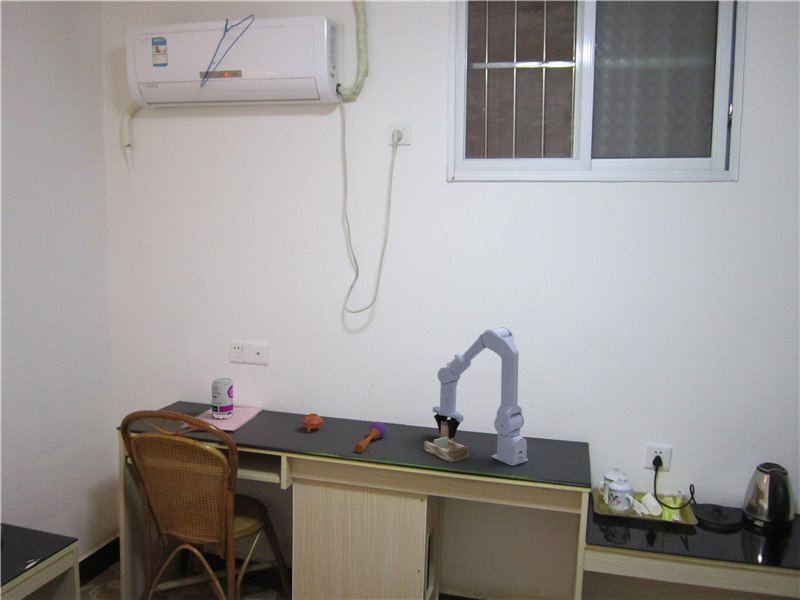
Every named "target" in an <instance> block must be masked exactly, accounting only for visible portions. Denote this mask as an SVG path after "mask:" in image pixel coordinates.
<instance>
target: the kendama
mask: <svg viewBox="0 0 800 600" xmlns="http://www.w3.org/2000/svg"><path fill="white" fill-rule="evenodd" d="M386 432H387V430H386V425H385V424H384V422H381V421H374V422H373V423H371V425H370V427H369V431H368V436H367V437H366V438H364V439H362V440H361V441H360V442H358V443H357V444H355V446H354V451H355V452H356V453H357V452H361V453H360V454H363V453H364V452H365V451H366V450H365V449H366V448H367V446H368V445H369V444H370V441H372V440H377V439H382V438H383V437H384V436H385V434H386Z"/></svg>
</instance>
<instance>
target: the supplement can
mask: <svg viewBox="0 0 800 600" xmlns="http://www.w3.org/2000/svg"><path fill="white" fill-rule="evenodd" d="M212 413H213V414H216V415H229V414H232V413H233V414H234V382H233V380H232V378H228V377H221V378H219V377H218V378H215V379H213V381H212V382H211V414H212Z"/></svg>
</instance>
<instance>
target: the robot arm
mask: <svg viewBox="0 0 800 600" xmlns="http://www.w3.org/2000/svg"><path fill="white" fill-rule="evenodd" d="M514 337H515V335H514V333H513V332H512V331H511V330H510V329H509V328H507V327H505V326H501V327H498V328H493V329H492V328H491V329H486V330H484V331H483V333H481V334H480V335H478V338H477V339H476V340H475V341H474V342H473V343H472V344H471V346H469V347H468V349H467V350H466V351H464V353H461V352H460V353H456V354H455V355H454V358H453V359H452V360H451V361H450V362H447V363H446V366H445V367H440V368H439V370H438V372H437V379H438V381H439V382H440V395H439V396H440V397H439V406H438V405H436V406H432V413H436V414H434V415H433V418H434V420H435V422H436V424H437V428H438V433H439V435H440V436H441V420H446V421H447V424H448V430H449V438H450V439H451V438H453V439H454V438H455V436H456V433H457V430H458V427H459V426H460V424H461V423H462V422H464V415H462V414H460V413H459V412H458V411H457V410H456V409H457V386H458V381H459V380H460V378H461V375H462V374H464V372H465V371H466V370H468V369H469V368H470V367H471V365H472V360H473V359H475V357H476V356H478V355H479V354H480V353H481V352H482V351H484V350H485V349H488V350H490V351H491V352H494V353H495V354H497V355H498V356H499V357H500V358H501V367H500V368H501V369H500V370H501V378H500V382H501V384H500V406H499V407H498V409H497V410H496V417H495V419H494V421H493V424H494V425H493V426H494V429H495V430H496V432H497V447H496V449H497V450H496V453H495V454H493V455H491V458H493V459H495V460H498V461H500V462H502V463H504V464H507V465H509V466H512V467H513V466H517V465H519V464H522V463H526V462H528V460H529V459H528V458H527V452H528V451H527V450H528V441H527V440H526V438H525V437H523V436H522V435H521V429H522V428H523V426H524V424H525V417H524V415H523V409H522V407H521V406H520V405H519V404H518V402H519V401H518V400H519V399H518V397H519V395H518V394H519V390H518V389H519V350H518V347H517V345H516V342H515V339H514ZM448 418H449V419H448Z"/></svg>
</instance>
